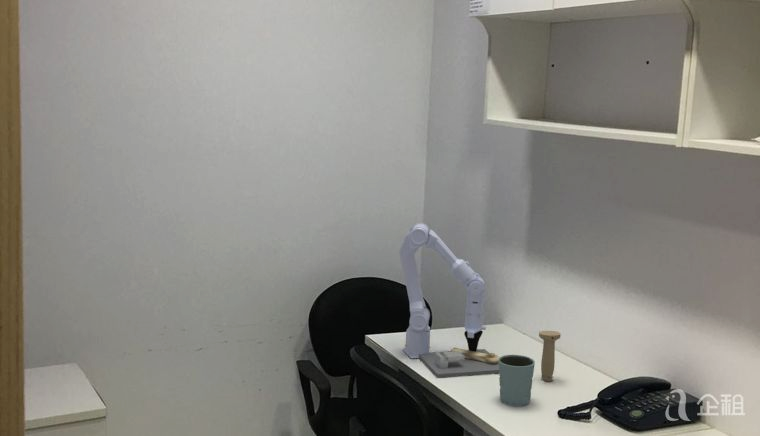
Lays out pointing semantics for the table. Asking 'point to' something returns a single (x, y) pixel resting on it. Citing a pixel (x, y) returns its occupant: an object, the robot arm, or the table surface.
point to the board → (459, 366)
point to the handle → (548, 353)
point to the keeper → (447, 358)
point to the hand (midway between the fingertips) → (472, 352)
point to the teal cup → (515, 379)
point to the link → (478, 355)
